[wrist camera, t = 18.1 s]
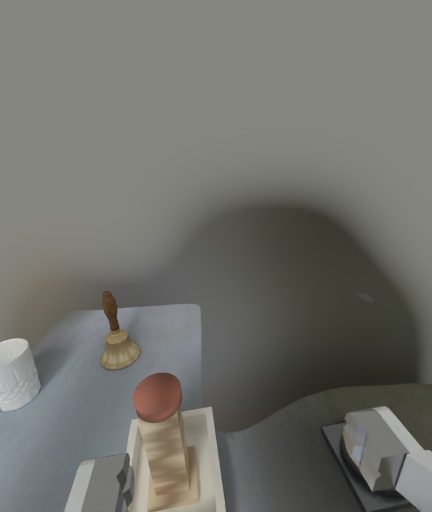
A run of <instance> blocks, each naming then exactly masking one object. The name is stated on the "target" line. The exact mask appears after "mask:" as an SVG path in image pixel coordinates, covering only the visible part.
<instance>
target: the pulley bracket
mask: <svg viewBox="0 0 432 512" xmlns="http://www.w3.org/2000/svg"><path fill="white" fill-rule="evenodd" d="M346 424H347V422H346V423H341V424H335V425H330V426H324V427H322V429H321V432H322V434H323V436H324V438H325V440H326V442H327V444H328V446H329V447H330V449H331V451H332V453H333V455H334V457H335V459H336V461H337V463H338V465H339V467H340V469H341V470H342V472H343V474H344V476H345V478H346V480H347V482H348V484H349V486H350V488H351V490H352V491H353V493H354V495H355V497H356V499H357V501H358V503H359V505H360V507H361V509H362V511H363V512H390V511H394V510H398V509H403V508H407V507H411V506H414V505H413V504H412V503H411V502H409V501H408V500H407V499H406V498H405V497H404V496H403V495H401V494H400V493H399V492H398V491H397V490H396V489H395V488H396V487H395V488H389V489H384V490H378V491H373V492H372V490H371V489H370V487H369V485H368V483H367V482H366V480H365V478H364V477H363V475H362V473H361V472H360V468H359V461H357V460H356V459H355V458H353V457H352V456H351V454H350V453H349V451H348V449H347V447H346V444H345V442H344V438H343V427H344V426H345V425H346Z"/></svg>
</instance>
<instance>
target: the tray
mask: <svg viewBox="0 0 432 512" xmlns="http://www.w3.org/2000/svg"><path fill="white" fill-rule="evenodd" d="M182 417H183V423H184V430H185V437H186V443H187V447H189V446H195V450H196V465H197V482H198V498H199V503H194V504H189V505H185V506H180V507H175V508H170V509H165V510H160V511H156V512H226V508H225V500H224V493H223V486H222V478H221V471H220V464H219V456H218V449H217V442H216V434H215V427H214V420H213V413H212V407H206V408H200V409H194V410H188V411H182ZM138 420H139V419H134V420H131V426H130V432H129V437H128V443H127V449H126V453H128V454H129V457H130V463H129V465H130V466H132V467H133V471H134V494H133V500H132V502H131V503H130V505H129V507H128V511H129V512H148V511H147V501H148V489H149V478H150V468H149V464H148V460H147V456H146V452H145V448H144V443H143V439H142V435H141V431H140V427H139V423H138Z"/></svg>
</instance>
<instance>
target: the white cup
mask: <svg viewBox="0 0 432 512" xmlns="http://www.w3.org/2000/svg"><path fill="white" fill-rule="evenodd" d="M40 388H41V385H40V382H39V379H38V372H37V369H36V365H35V362H34V359H33V356H32V353H31V350H30V347H29V344H28V342H27V340H25V339H21V338H16V339H10V340H6V341H3V342H0V410H2V411H13V410H16V409H18V408H20V407H23V406H24V405H26V404H27V403H29V402H30V401H32V400H33V399H34V398H35V396H36V395H37V394H38V393H39V391H40Z"/></svg>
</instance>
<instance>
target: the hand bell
mask: <svg viewBox="0 0 432 512" xmlns="http://www.w3.org/2000/svg"><path fill="white" fill-rule="evenodd" d="M102 305H103V310H104V313H105V315H106V316H107V318H108V319H109V323H110V329H111V333H109V334H108V335H107V337H106V350H105V352H104V353H103V355H102V357H101V365H102V366H103V367H104V368H106V369H109V370H118V369H122V368H125V367H127V366H129V365H131V364H132V363H133V362H135V361H136V360H137V359H138V357H139V355H140V347H139V346H138V345H137V344H136V343H134V342H132V341H131V340H130V338H129V336H128V333H127V332H126V331H125V330H120V329H119V325H118V321H117V304H116V301H115V299H114V297H113V296H112V294H111V293H110V291H105V292H104V293H103V301H102Z"/></svg>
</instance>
